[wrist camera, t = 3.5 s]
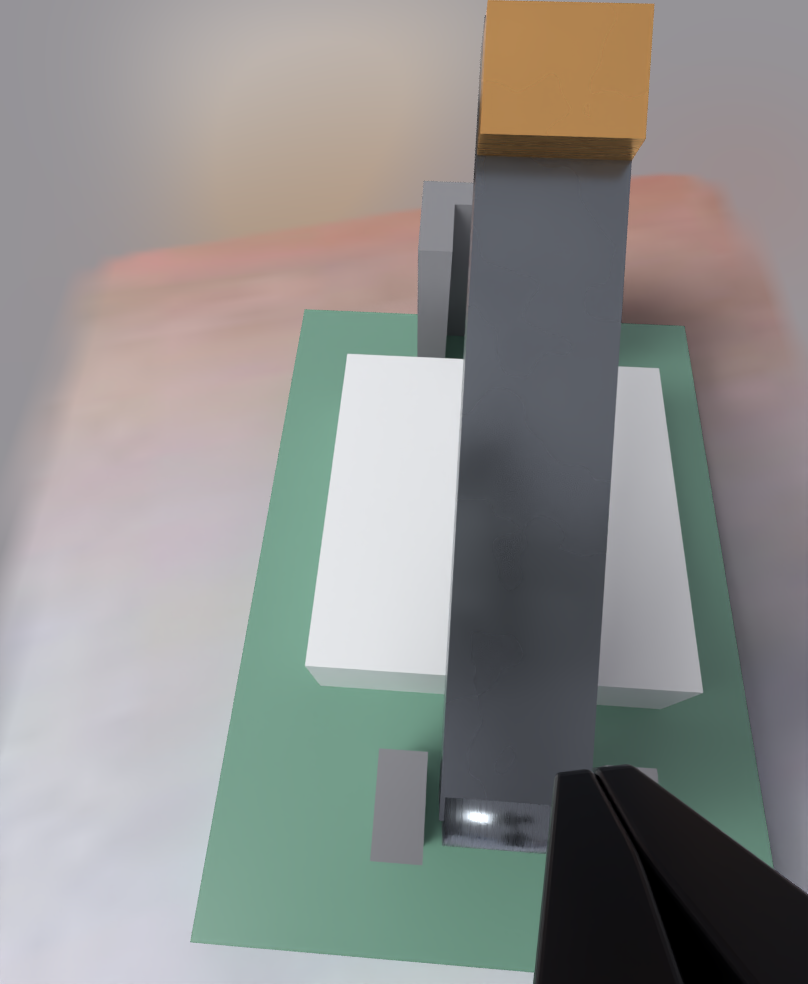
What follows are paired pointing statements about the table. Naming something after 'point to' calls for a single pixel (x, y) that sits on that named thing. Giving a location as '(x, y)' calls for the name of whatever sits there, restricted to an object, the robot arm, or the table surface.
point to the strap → (538, 408)
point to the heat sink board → (340, 734)
